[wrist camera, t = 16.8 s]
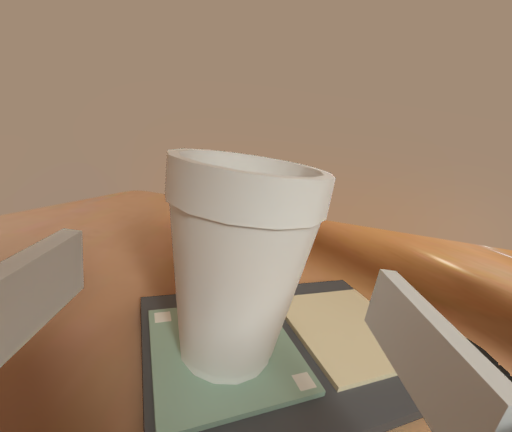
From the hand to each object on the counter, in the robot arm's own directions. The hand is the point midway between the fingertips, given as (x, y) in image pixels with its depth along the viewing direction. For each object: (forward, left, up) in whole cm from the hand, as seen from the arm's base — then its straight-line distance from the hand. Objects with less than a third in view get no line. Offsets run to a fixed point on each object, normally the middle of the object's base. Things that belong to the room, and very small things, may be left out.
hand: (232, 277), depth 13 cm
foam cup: (-2, -5, -9) cm, 10 cm away
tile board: (-8, -5, -10) cm, 13 cm away
